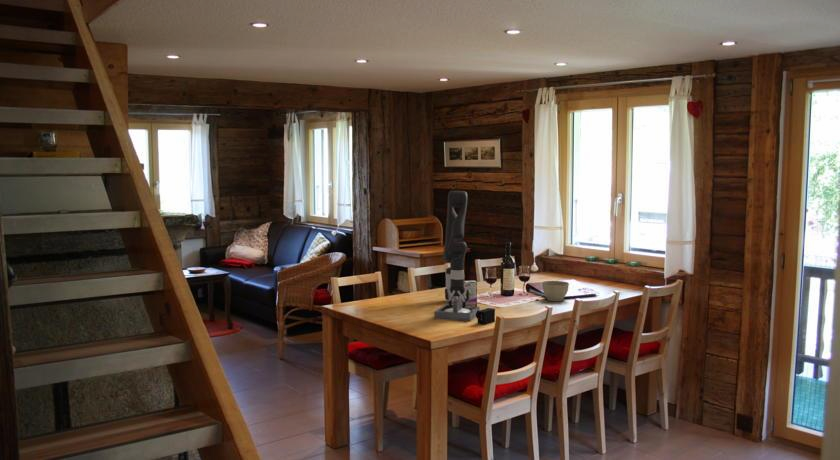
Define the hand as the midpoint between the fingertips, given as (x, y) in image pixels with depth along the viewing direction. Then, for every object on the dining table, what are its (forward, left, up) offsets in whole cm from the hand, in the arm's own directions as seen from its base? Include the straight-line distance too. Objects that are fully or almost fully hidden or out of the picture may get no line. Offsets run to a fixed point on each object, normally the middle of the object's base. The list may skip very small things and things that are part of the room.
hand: (457, 307), depth 382 cm
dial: (0, 0, -2) cm, 2 cm away
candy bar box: (-19, 0, -5) cm, 20 cm away
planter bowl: (-62, +44, -5) cm, 76 cm away
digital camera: (+10, +18, -5) cm, 21 cm away
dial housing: (0, 0, -5) cm, 5 cm away
